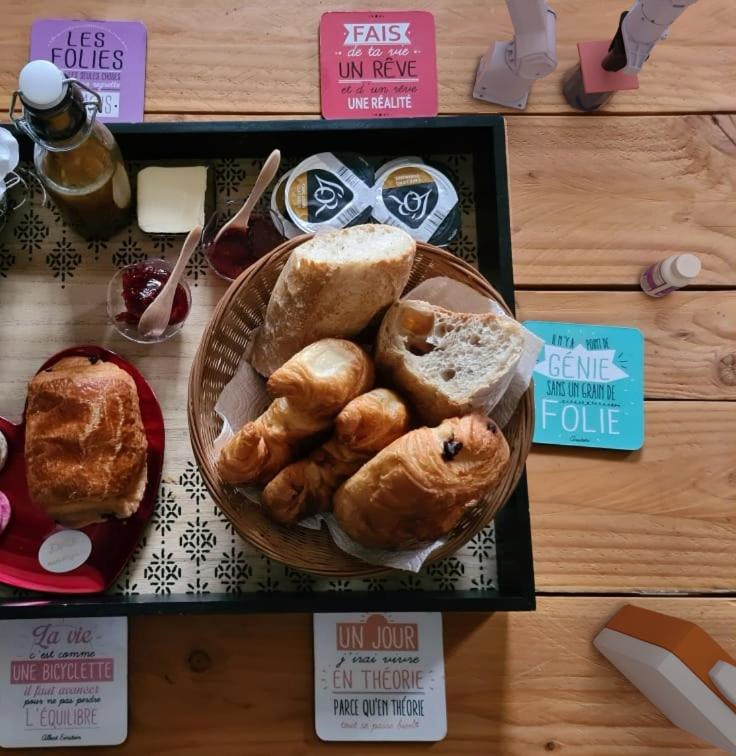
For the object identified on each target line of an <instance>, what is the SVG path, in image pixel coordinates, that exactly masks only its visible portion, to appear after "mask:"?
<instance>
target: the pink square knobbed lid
mask: <svg viewBox="0 0 736 756" xmlns="http://www.w3.org/2000/svg"><path fill="white" fill-rule="evenodd" d="M612 40H613V39H605V40H604V39H603V40H591V41H580V42H577V43H576V48H577V53H578V59H579V60H580V66H581V71H582V77H583V83H584V89H585V93H595V92H608V91H618V92H621V91H633V90H638V89H640V83H639V77H638V74H637V75H636V76H630V75H627V74H623V69H624V68H622V69H621V70H619V71H617V72H612V71H608V70H605V65H606V62H607V61H608V59H609V58H610V56H611V55H612V53H613V51H614V48H613V49H612V50H611V51H610V52H609V53H608V49H609V46H610V44H611V42H612ZM579 60H578V61H579Z"/></svg>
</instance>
